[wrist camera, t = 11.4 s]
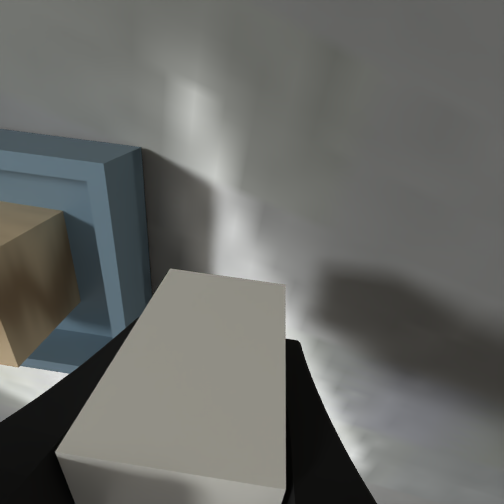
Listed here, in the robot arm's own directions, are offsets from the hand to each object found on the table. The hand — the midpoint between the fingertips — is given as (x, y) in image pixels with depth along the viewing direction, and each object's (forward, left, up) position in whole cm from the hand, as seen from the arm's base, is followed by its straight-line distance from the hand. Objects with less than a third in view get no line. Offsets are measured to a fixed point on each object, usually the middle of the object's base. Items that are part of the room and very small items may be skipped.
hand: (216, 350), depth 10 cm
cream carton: (0, 0, -2) cm, 2 cm away
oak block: (-2, +12, -7) cm, 14 cm away
